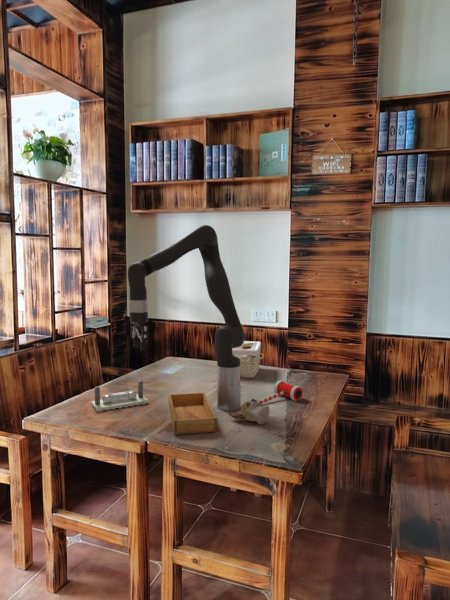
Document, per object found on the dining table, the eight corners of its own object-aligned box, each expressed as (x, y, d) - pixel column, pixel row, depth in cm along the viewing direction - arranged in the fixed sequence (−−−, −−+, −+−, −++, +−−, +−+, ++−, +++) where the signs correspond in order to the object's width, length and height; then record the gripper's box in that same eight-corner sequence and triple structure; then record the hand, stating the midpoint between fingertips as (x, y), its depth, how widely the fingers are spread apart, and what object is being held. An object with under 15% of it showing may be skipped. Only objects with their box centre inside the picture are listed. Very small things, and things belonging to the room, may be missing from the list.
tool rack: (140, 396, 198) (139, 377, 197) (148, 403, 189) (147, 383, 188) (91, 404, 188) (90, 384, 187) (96, 412, 179) (96, 391, 178)
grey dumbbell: (134, 396, 193) (134, 389, 193) (137, 399, 190) (137, 392, 189) (101, 401, 186) (101, 394, 186) (103, 404, 183) (103, 397, 183)
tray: (168, 406, 187) (168, 393, 186) (205, 404, 189) (205, 391, 189) (173, 436, 157) (173, 420, 156) (217, 433, 159) (217, 418, 159)
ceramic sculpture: (260, 405, 161) (227, 399, 171) (261, 429, 162) (227, 422, 171) (276, 398, 170) (243, 392, 179) (277, 421, 170) (244, 414, 179)
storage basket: (232, 366, 251) (232, 339, 250) (261, 367, 249) (262, 340, 247) (224, 378, 228) (224, 348, 226) (257, 379, 225) (257, 350, 224)
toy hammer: (264, 411, 182) (265, 395, 181) (245, 403, 191) (245, 388, 190) (303, 399, 196) (303, 385, 195) (283, 393, 205) (283, 379, 204)
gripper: (124, 309, 194) (125, 347, 196) (136, 312, 182) (137, 352, 184) (140, 308, 198) (142, 345, 200) (153, 311, 186) (154, 350, 188)
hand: (139, 348), depth 192 cm, fingers open, 8 cm apart
